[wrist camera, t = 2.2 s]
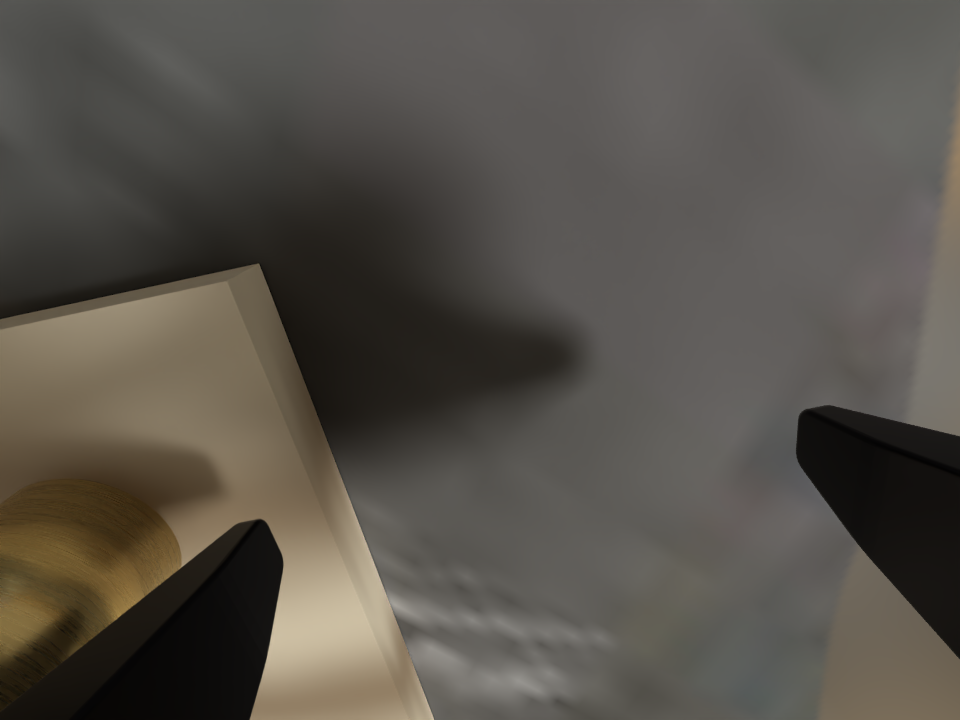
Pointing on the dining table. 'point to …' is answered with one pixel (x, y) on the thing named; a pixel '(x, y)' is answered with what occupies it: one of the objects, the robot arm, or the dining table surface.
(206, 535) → the board
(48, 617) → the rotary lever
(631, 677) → the dining table surface
